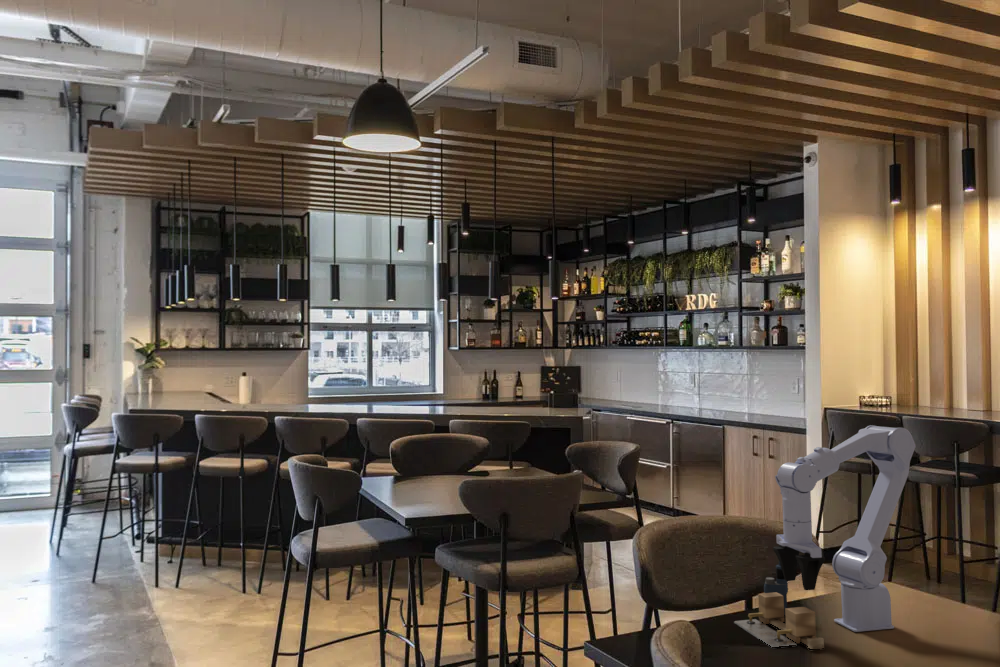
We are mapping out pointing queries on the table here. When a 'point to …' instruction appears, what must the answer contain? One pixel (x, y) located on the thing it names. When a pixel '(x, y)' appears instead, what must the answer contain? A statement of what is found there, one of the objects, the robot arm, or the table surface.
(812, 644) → the rail
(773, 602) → the fixed leg
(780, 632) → the brown block with peg
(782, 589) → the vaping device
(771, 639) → the bolt plate
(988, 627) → the table surface
